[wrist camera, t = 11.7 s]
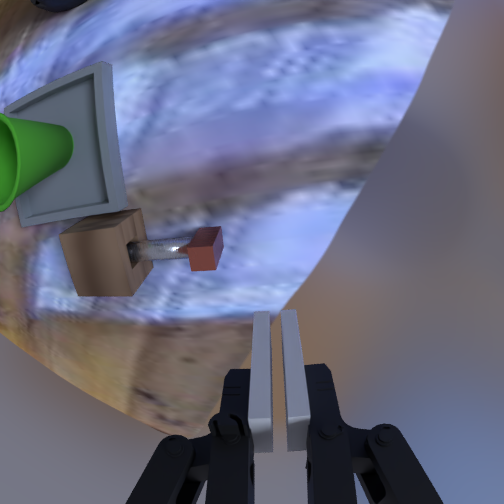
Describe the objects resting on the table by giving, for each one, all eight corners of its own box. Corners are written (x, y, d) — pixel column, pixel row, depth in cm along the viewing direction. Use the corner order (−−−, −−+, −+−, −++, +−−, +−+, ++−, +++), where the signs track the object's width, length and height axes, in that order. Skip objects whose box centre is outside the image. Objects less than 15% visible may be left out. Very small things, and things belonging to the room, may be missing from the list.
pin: (221, 226, 29) (212, 246, 24) (223, 246, 30) (216, 270, 25) (128, 234, 30) (107, 253, 25) (133, 253, 30) (113, 274, 26)
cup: (43, 193, 29) (-20, 223, 18) (28, 126, 25) (-38, 138, 15) (96, 172, 28) (30, 197, 17) (80, 96, 24) (10, 94, 14)
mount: (141, 208, 30) (114, 227, 24) (153, 267, 32) (132, 296, 27) (89, 215, 30) (58, 234, 24) (103, 269, 33) (78, 296, 27)
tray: (15, 107, 24) (4, 108, 22) (112, 64, 23) (101, 61, 21) (32, 221, 31) (21, 227, 29) (128, 205, 30) (119, 211, 27)
